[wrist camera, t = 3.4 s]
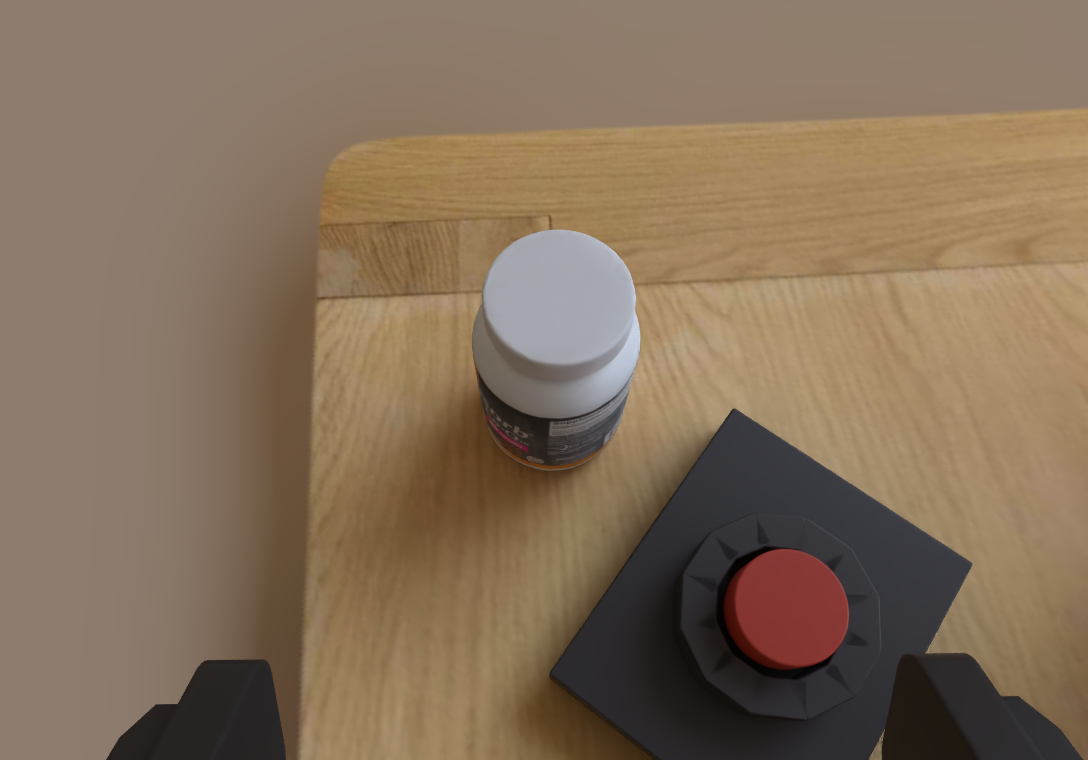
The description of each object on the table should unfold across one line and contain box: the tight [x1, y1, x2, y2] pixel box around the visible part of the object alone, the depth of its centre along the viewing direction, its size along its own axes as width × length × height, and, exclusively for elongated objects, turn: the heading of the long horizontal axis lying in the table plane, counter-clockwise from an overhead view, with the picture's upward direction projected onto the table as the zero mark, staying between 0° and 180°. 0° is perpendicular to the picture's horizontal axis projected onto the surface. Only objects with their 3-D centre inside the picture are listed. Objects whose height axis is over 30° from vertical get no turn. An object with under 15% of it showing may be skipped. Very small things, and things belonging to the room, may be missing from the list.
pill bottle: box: [472, 230, 640, 471], centre depth 29 cm, size 6×6×10 cm
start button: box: [723, 549, 849, 670], centre depth 27 cm, size 4×4×2 cm
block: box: [549, 409, 972, 760], centre depth 29 cm, size 12×10×4 cm
